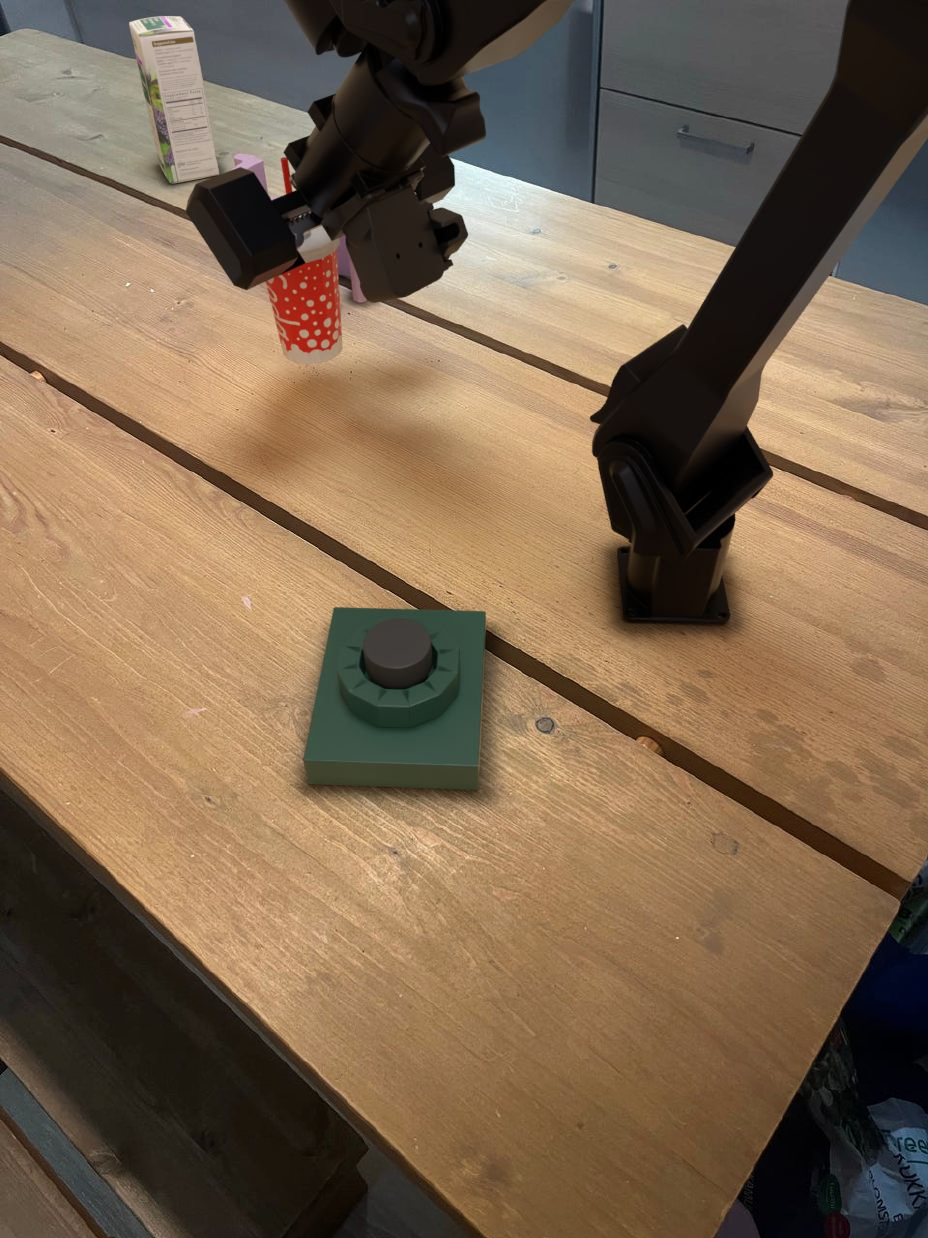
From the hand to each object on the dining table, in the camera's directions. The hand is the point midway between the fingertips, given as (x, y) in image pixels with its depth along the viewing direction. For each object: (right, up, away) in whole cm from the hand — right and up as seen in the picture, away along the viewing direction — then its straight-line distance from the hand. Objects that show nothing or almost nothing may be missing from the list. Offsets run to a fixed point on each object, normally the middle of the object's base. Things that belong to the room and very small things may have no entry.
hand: (286, 254), depth 69 cm
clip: (-2, +8, +23) cm, 24 cm away
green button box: (+9, -31, -15) cm, 36 cm away
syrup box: (-18, +24, +38) cm, 48 cm away
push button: (+9, -29, -17) cm, 35 cm away
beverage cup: (+1, -6, +5) cm, 7 cm away
